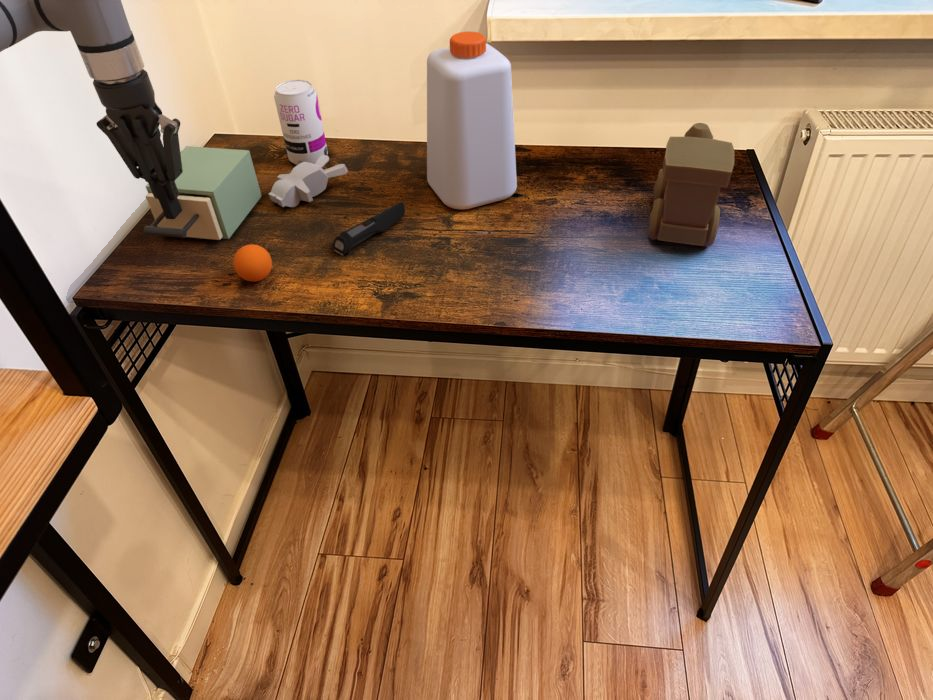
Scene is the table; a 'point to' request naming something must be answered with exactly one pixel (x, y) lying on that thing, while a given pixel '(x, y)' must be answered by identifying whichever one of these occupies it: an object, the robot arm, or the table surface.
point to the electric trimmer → (368, 228)
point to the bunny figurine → (304, 182)
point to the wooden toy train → (691, 188)
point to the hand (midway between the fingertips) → (174, 214)
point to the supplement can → (300, 121)
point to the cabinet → (220, 182)
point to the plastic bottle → (470, 123)
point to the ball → (252, 263)
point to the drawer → (186, 218)
